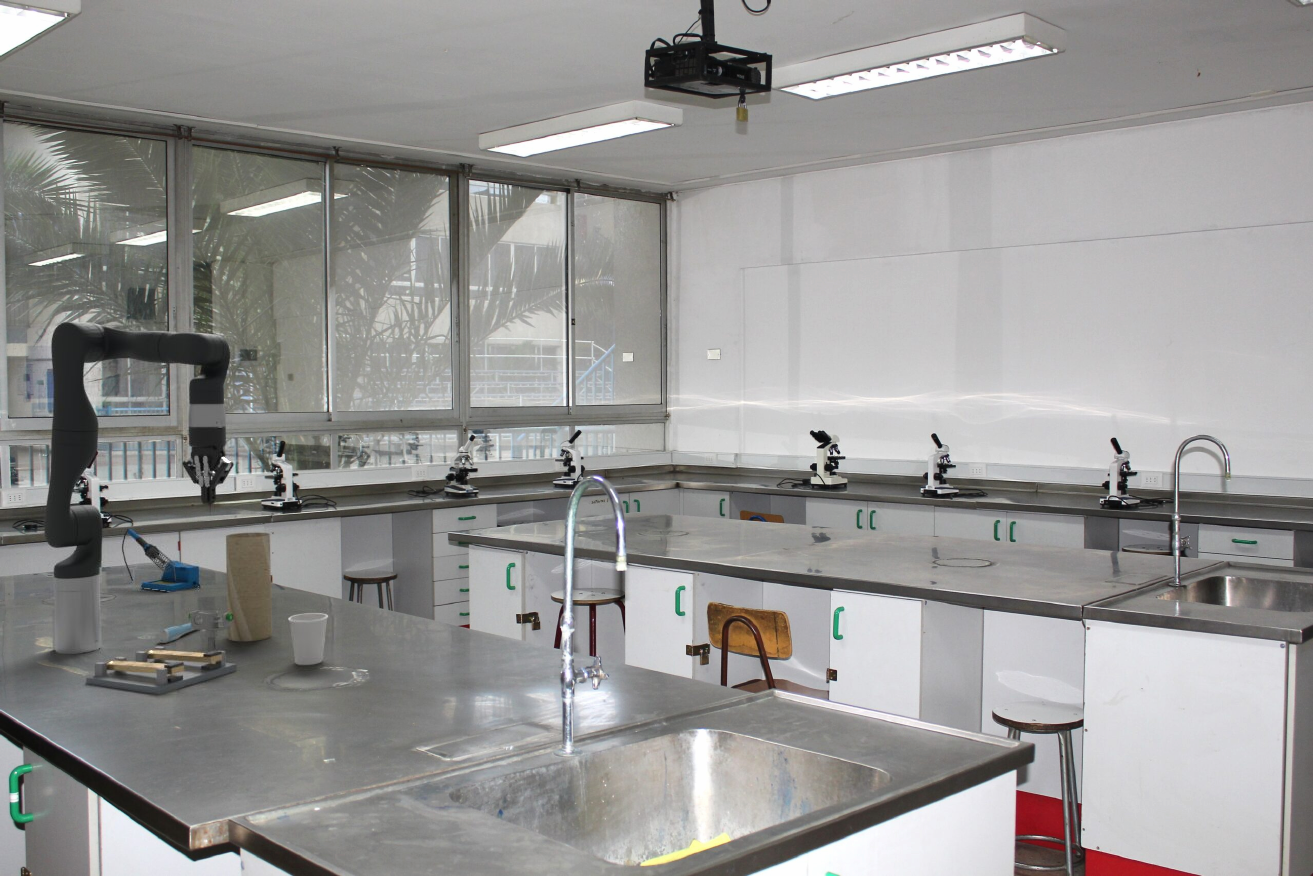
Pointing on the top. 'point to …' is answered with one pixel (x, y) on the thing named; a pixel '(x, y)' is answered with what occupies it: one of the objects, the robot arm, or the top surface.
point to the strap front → (145, 666)
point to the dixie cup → (308, 637)
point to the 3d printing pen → (173, 633)
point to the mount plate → (158, 674)
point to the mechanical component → (210, 624)
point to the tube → (249, 586)
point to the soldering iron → (166, 569)
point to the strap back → (185, 656)
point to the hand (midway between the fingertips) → (208, 503)
